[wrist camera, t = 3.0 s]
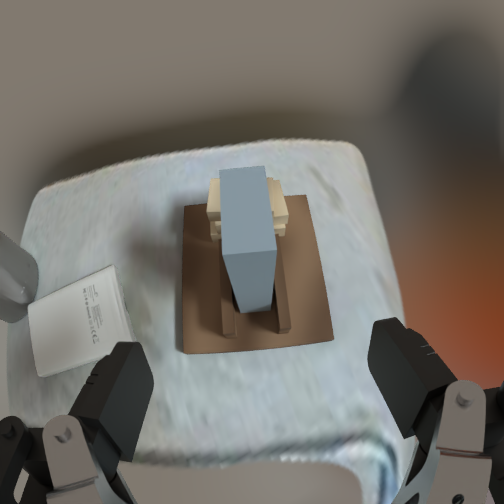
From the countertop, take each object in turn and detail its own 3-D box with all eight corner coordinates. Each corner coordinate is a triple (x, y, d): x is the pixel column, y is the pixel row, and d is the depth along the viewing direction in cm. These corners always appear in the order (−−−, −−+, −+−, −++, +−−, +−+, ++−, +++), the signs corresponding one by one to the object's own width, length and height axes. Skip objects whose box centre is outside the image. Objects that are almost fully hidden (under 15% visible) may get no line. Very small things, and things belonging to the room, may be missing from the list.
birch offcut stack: (213, 243, 25) (204, 217, 21) (212, 204, 27) (205, 176, 23) (287, 236, 25) (291, 209, 21) (280, 198, 27) (282, 169, 23)
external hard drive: (35, 308, 24) (119, 269, 26) (47, 378, 21) (140, 346, 23) (27, 304, 23) (112, 262, 24) (37, 376, 19) (132, 344, 21)
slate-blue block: (240, 313, 22) (222, 254, 12) (236, 256, 24) (219, 170, 14) (270, 310, 22) (276, 249, 12) (264, 254, 24) (264, 165, 14)
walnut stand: (186, 354, 22) (174, 349, 19) (186, 211, 28) (178, 190, 25) (331, 340, 22) (342, 334, 19) (304, 200, 28) (309, 178, 25)
